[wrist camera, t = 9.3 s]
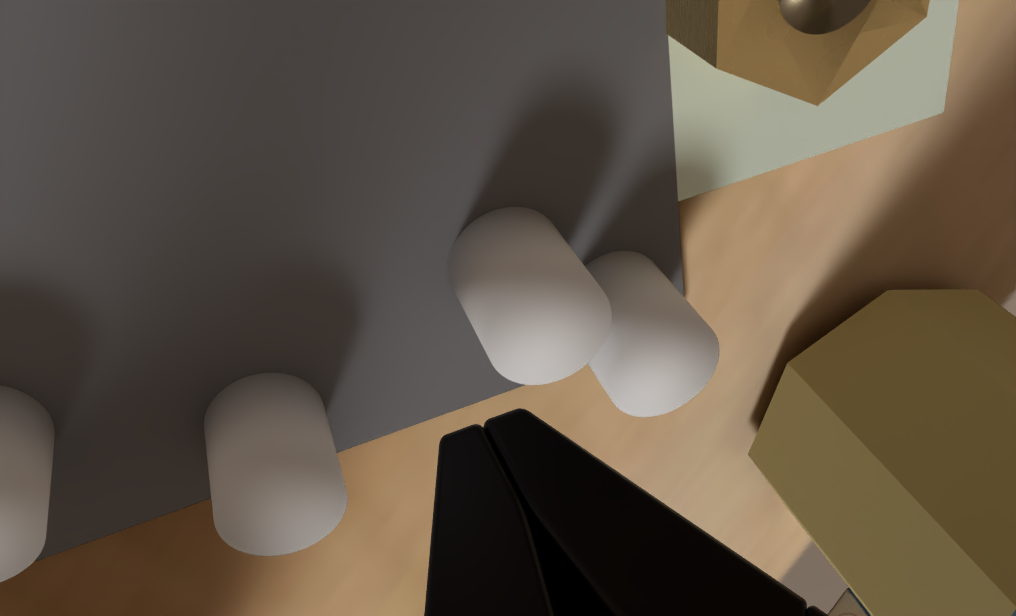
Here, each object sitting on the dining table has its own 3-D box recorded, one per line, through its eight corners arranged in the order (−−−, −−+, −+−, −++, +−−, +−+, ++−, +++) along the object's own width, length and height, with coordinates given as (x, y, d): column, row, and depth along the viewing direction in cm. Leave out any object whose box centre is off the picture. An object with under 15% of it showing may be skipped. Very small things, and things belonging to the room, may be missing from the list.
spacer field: (675, 314, 26) (743, 396, 23) (-37, 568, 22) (-59, 698, 20) (601, -765, 13) (729, -878, 10) (-983, -527, 10) (-1398, -595, 7)
